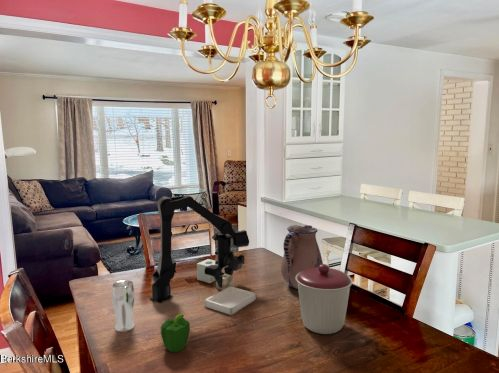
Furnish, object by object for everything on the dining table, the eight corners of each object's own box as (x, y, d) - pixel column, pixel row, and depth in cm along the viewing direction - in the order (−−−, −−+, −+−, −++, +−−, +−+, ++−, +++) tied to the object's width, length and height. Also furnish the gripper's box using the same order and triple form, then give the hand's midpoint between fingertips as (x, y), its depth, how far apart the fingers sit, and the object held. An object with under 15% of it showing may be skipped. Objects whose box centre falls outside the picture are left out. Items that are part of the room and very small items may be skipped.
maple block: (225, 291, 149) (225, 279, 148) (216, 288, 152) (215, 276, 151) (233, 286, 153) (232, 275, 152) (223, 284, 156) (223, 273, 155)
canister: (287, 333, 115) (288, 269, 113) (303, 309, 132) (304, 253, 129) (346, 346, 108) (347, 278, 105) (355, 319, 124) (356, 259, 122)
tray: (231, 315, 128) (231, 308, 128) (204, 306, 135) (204, 299, 135) (256, 299, 141) (255, 293, 140) (230, 291, 148) (230, 286, 148)
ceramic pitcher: (328, 282, 157) (329, 225, 154) (310, 301, 139) (311, 237, 136) (291, 275, 166) (291, 221, 163) (269, 291, 148) (269, 231, 145)
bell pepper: (161, 357, 103) (160, 324, 102) (161, 342, 111) (160, 311, 110) (191, 353, 105) (190, 320, 104) (189, 338, 113) (188, 308, 112)
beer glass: (113, 324, 123) (111, 281, 121) (135, 320, 125) (133, 278, 123) (113, 334, 116) (111, 289, 114) (136, 330, 118) (134, 286, 117)
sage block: (210, 283, 157) (209, 266, 156) (197, 279, 161) (196, 263, 161) (221, 278, 163) (220, 261, 162) (208, 274, 168) (208, 258, 167)
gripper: (225, 258, 138) (225, 297, 140) (252, 246, 153) (253, 282, 155) (203, 253, 144) (204, 291, 146) (231, 242, 160) (232, 276, 162)
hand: (224, 285), depth 152 cm, fingers closed on maple block, 5 cm apart
